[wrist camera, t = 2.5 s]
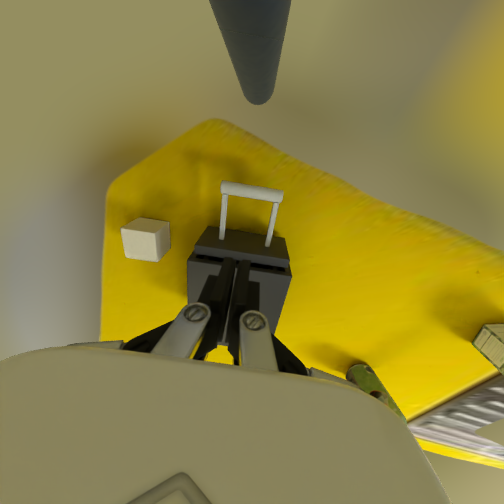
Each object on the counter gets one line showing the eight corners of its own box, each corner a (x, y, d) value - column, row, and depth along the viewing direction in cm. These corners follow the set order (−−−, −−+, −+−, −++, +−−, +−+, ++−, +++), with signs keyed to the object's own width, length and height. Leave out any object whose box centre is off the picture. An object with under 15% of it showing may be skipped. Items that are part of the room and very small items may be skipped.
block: (139, 217, 29) (120, 227, 25) (169, 221, 29) (154, 233, 25) (143, 243, 31) (125, 257, 27) (170, 247, 31) (157, 262, 27)
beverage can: (337, 368, 44) (361, 437, 34) (366, 354, 42) (401, 425, 31) (354, 380, 46) (381, 449, 36) (382, 367, 43) (421, 438, 33)
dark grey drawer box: (205, 233, 30) (186, 260, 23) (285, 246, 30) (292, 276, 23) (202, 303, 37) (187, 340, 30) (267, 312, 37) (268, 352, 30)
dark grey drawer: (210, 173, 25) (194, 180, 19) (297, 188, 25) (307, 199, 20) (204, 295, 35) (193, 323, 29) (267, 305, 35) (268, 334, 29)
